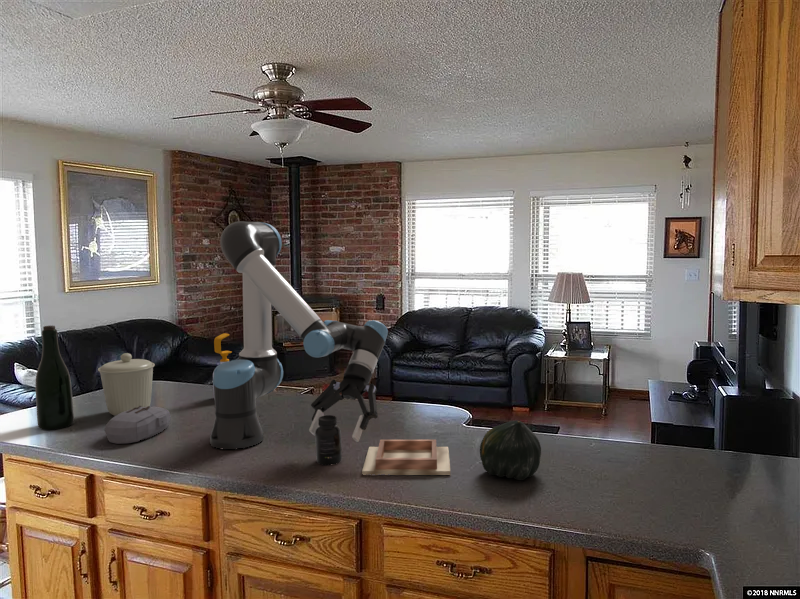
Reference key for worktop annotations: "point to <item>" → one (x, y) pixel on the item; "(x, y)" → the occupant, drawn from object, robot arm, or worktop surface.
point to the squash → (510, 451)
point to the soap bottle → (218, 349)
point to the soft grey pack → (137, 424)
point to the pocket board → (407, 458)
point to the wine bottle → (53, 386)
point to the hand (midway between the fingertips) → (333, 436)
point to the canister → (127, 383)
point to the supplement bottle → (328, 441)
